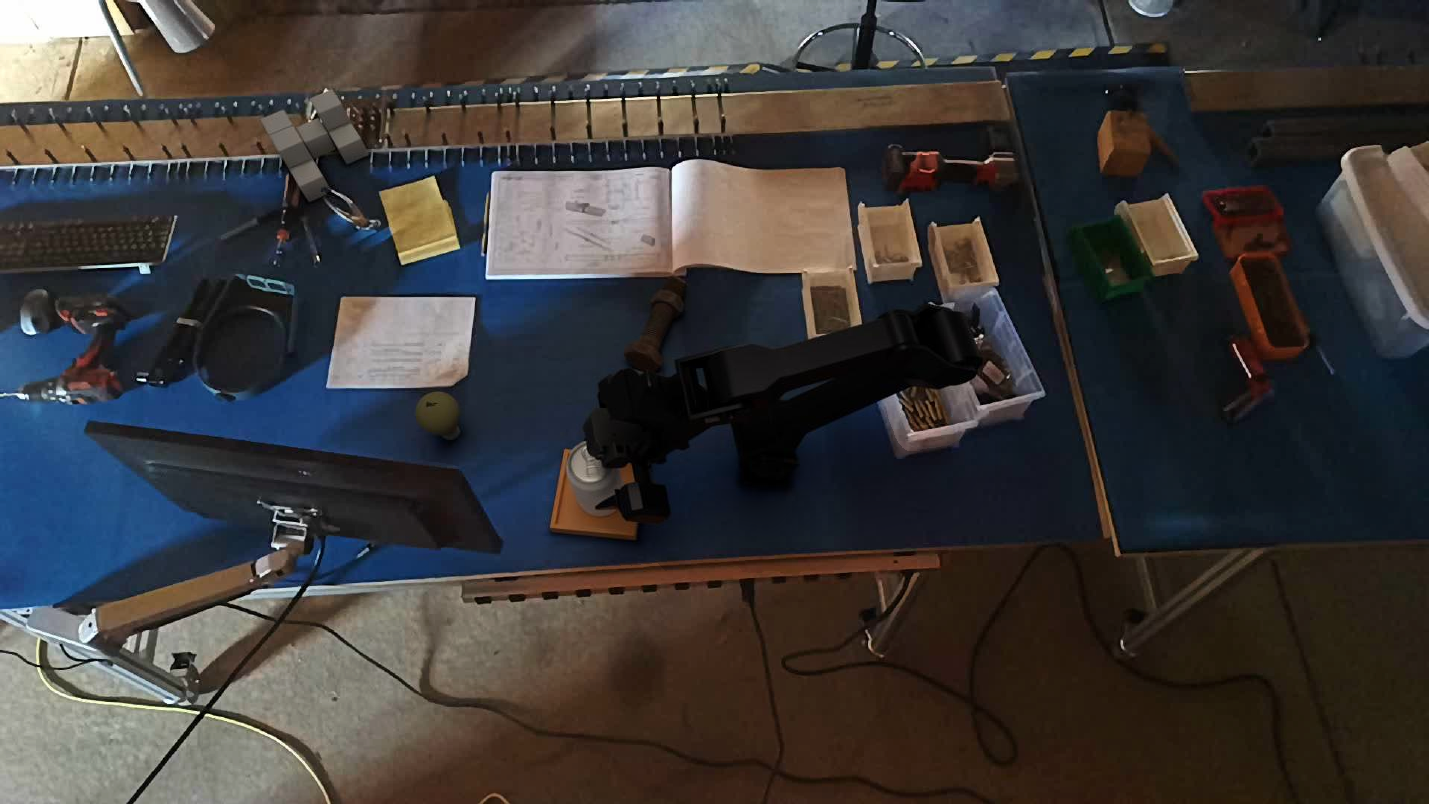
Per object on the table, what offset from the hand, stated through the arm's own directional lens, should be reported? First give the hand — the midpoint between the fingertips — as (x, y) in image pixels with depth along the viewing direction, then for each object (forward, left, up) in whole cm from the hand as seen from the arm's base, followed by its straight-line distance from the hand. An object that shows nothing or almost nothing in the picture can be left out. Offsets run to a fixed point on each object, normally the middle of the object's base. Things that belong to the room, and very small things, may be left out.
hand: (592, 475), depth 108 cm
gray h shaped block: (+53, -53, -8) cm, 75 cm away
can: (0, 0, -8) cm, 8 cm away
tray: (0, 0, -8) cm, 8 cm away
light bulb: (+22, -7, -8) cm, 24 cm away
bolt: (-5, -27, -8) cm, 29 cm away
